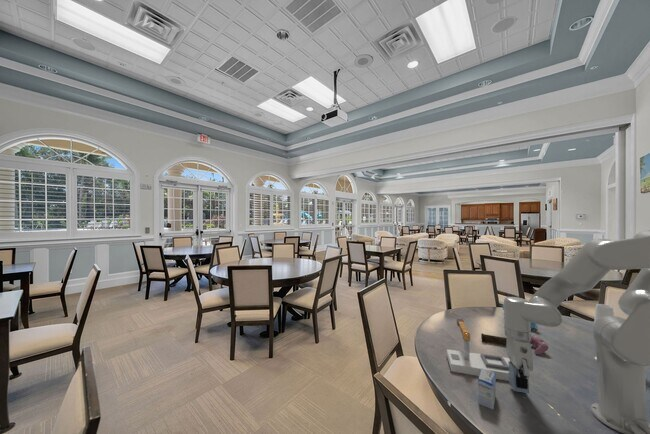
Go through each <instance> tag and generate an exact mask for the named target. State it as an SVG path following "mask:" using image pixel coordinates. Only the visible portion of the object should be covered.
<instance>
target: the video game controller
mask: <svg viewBox="0 0 650 434" xmlns="http://www.w3.org/2000/svg"><path fill="white" fill-rule="evenodd" d="M530 344H531V348H533V349H535V350H534V354H535V355H536V356H537V355H539V356H540V355H542V354H544V353H545V352H547V351H548V350H549V345H548V344H547V342H546V341H545V340H544V339H542V338H541V337H538V336H536V335H531V341H530Z"/></svg>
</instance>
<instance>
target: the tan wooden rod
mask: <svg viewBox="0 0 650 434" xmlns="http://www.w3.org/2000/svg"><path fill="white" fill-rule="evenodd" d="M456 325H457V327H458V328H459V331H460V333H461V335H462V339H463V341H464V340H466V341H469V342H470V341H471V333H470V332H469V331H468V329H467V327H466V325H465V320H464V319H463V318H456Z"/></svg>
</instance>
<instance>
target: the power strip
mask: <svg viewBox="0 0 650 434" xmlns="http://www.w3.org/2000/svg"><path fill="white" fill-rule="evenodd" d="M446 357H447V360H448V364H449V368H450V372H454V373H460V374H466V375H471V376H477V377H479V374H480V371H481V368H483V369H486V370H489V371H492V372H494V373H495V374H496V380H502V381H506V382H507V381H508V382H509V362H508V361H510V359H509V358H508V357H505V356H500V355H494V354H487V353H475V352H470V341H466V340H464V339H463V351H460V350H454V349H446Z"/></svg>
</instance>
